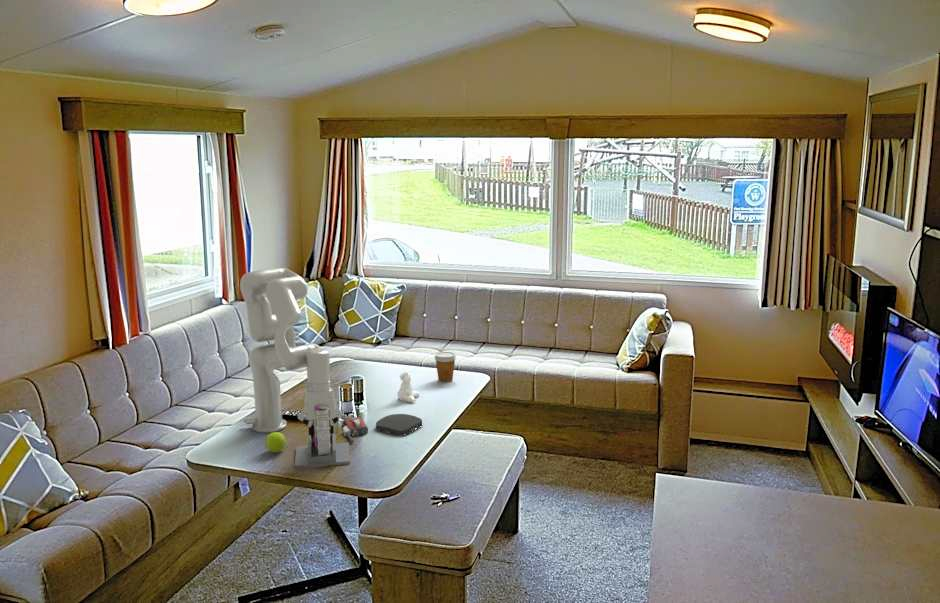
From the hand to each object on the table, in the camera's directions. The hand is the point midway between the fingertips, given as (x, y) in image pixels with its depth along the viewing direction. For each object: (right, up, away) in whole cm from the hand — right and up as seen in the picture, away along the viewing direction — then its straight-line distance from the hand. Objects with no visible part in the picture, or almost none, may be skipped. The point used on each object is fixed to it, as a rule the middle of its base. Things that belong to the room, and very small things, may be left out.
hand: (321, 435), depth 259 cm
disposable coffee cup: (+39, +10, +82) cm, 91 cm away
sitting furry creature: (+24, +5, +57) cm, 63 cm away
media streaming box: (+24, -2, +28) cm, 36 cm away
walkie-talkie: (+8, -3, +22) cm, 24 cm away
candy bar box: (0, -5, +1) cm, 5 cm away
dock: (0, -7, +1) cm, 7 cm away
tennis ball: (-17, -7, +6) cm, 19 cm away
